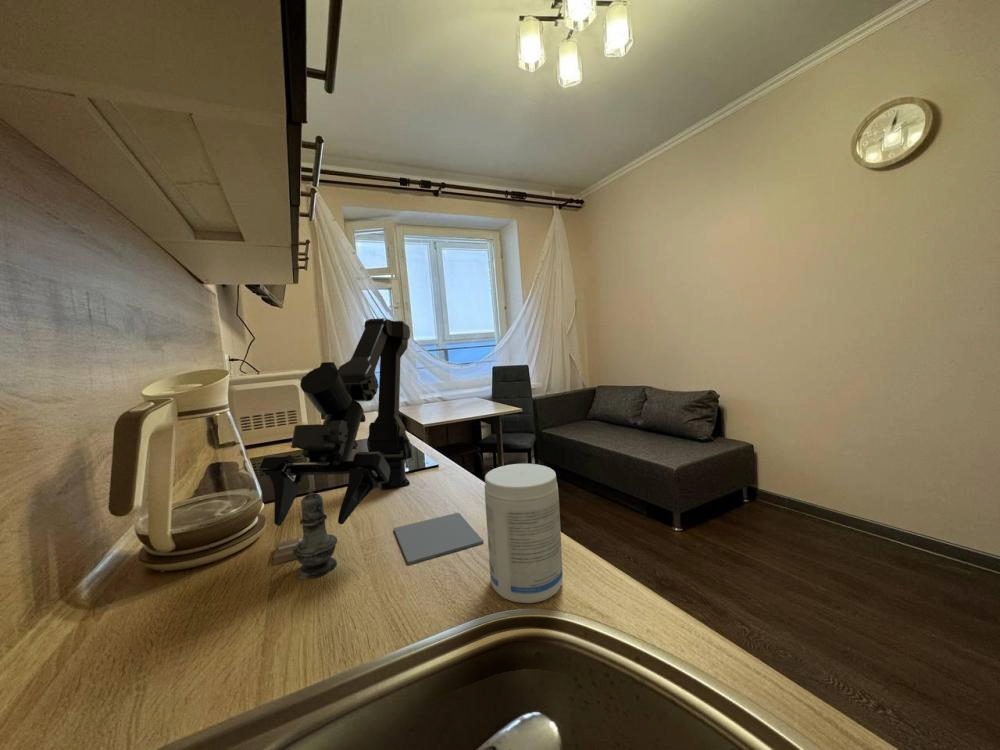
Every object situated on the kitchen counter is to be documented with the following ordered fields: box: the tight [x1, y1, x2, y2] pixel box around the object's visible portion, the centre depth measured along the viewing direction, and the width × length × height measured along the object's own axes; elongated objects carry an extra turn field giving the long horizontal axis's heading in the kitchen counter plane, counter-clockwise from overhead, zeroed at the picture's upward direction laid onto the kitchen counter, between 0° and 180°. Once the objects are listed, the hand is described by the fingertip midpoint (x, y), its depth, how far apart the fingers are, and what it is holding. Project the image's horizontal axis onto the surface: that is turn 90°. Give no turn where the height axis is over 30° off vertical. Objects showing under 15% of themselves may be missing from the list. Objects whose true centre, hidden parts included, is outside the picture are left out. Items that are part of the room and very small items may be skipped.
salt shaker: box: [293, 488, 338, 580], centre depth 54 cm, size 6×6×12 cm
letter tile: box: [273, 536, 303, 565], centre depth 60 cm, size 5×5×2 cm
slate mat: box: [393, 512, 484, 565], centre depth 63 cm, size 12×12×1 cm
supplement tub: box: [484, 463, 564, 604], centre depth 49 cm, size 10×10×15 cm
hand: (308, 524), depth 53 cm, fingers open, 9 cm apart
